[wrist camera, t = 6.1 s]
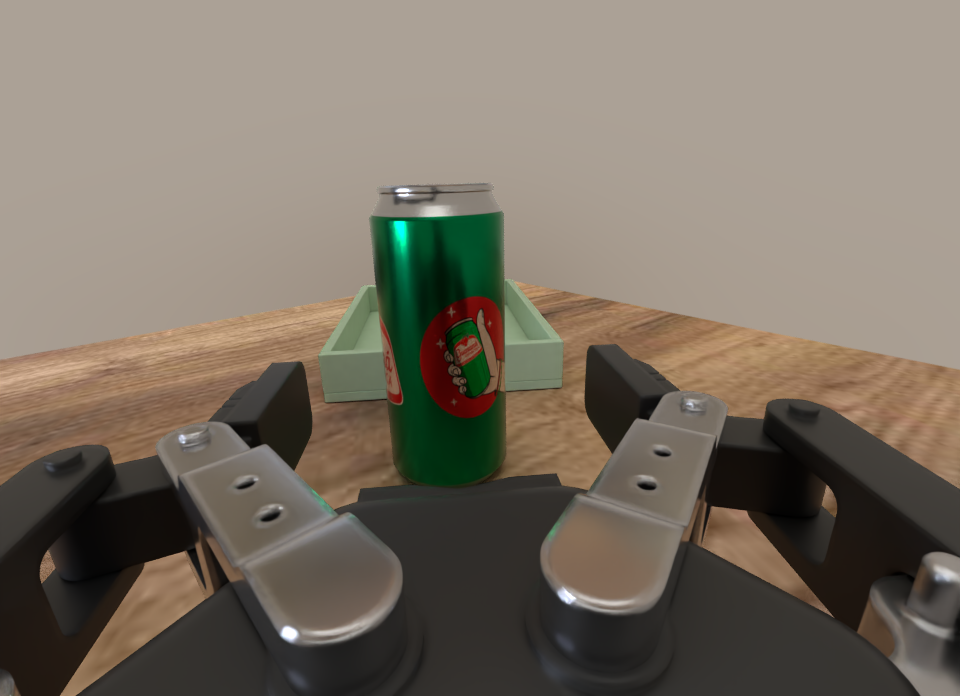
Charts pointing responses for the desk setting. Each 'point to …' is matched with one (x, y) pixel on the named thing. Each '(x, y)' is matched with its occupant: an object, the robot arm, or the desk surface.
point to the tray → (359, 359)
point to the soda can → (442, 329)
